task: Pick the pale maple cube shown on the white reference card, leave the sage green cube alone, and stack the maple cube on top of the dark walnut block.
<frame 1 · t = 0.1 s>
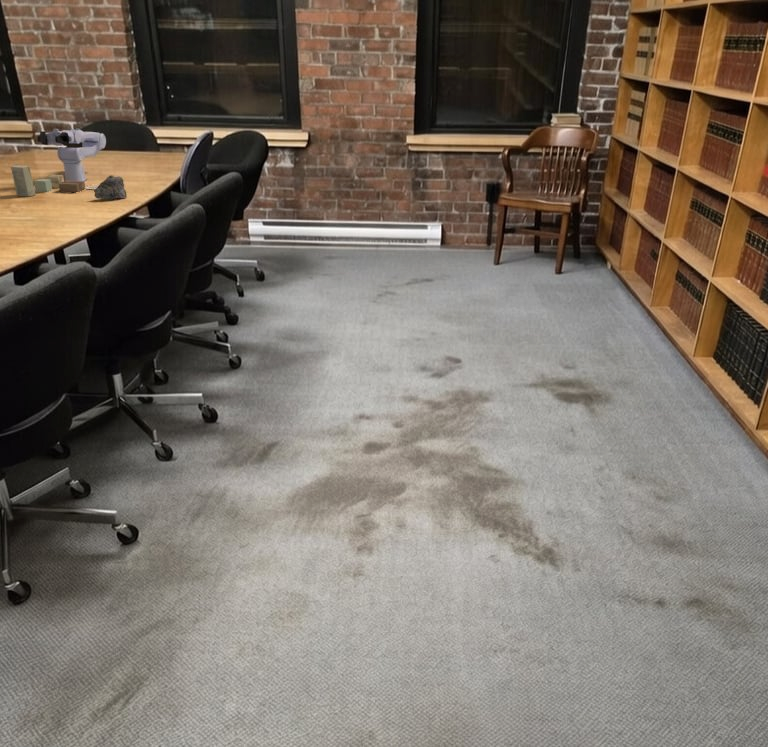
hand: (47, 139, 287), 22 cm above the table, tool horizontal, fingers open, 7 cm apart
reference card: (94, 187, 304), on the table
walnut block: (73, 191, 296), on the table
mineral rock: (111, 199, 286), on the table
maple cube: (56, 187, 301), on the table
sage cube: (44, 191, 292), on the table
skincare box: (26, 195, 283), on the table
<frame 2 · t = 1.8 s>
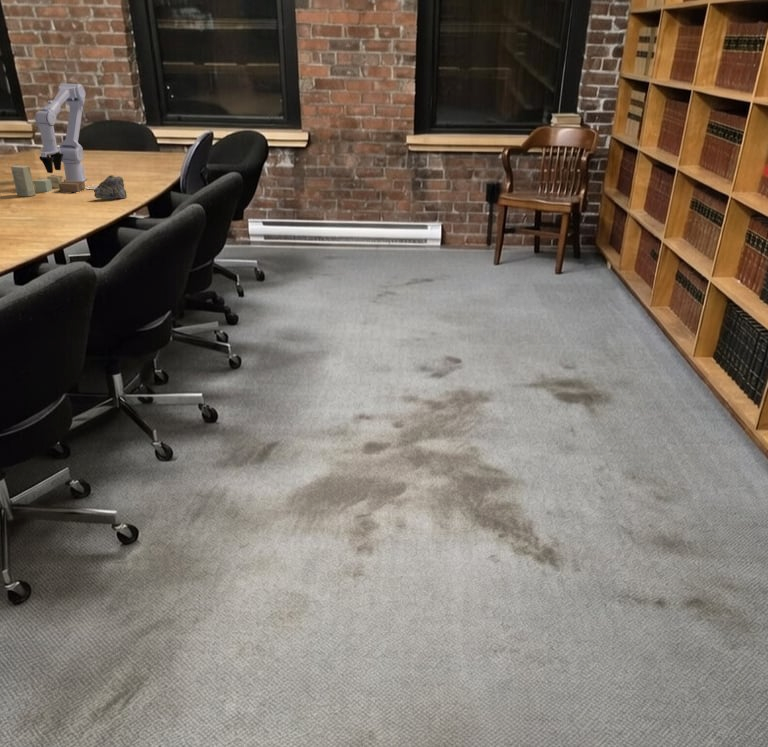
hand: (54, 171, 298), 7 cm above the table, tool pointing down, fingers open, 7 cm apart
nothing on the table moved.
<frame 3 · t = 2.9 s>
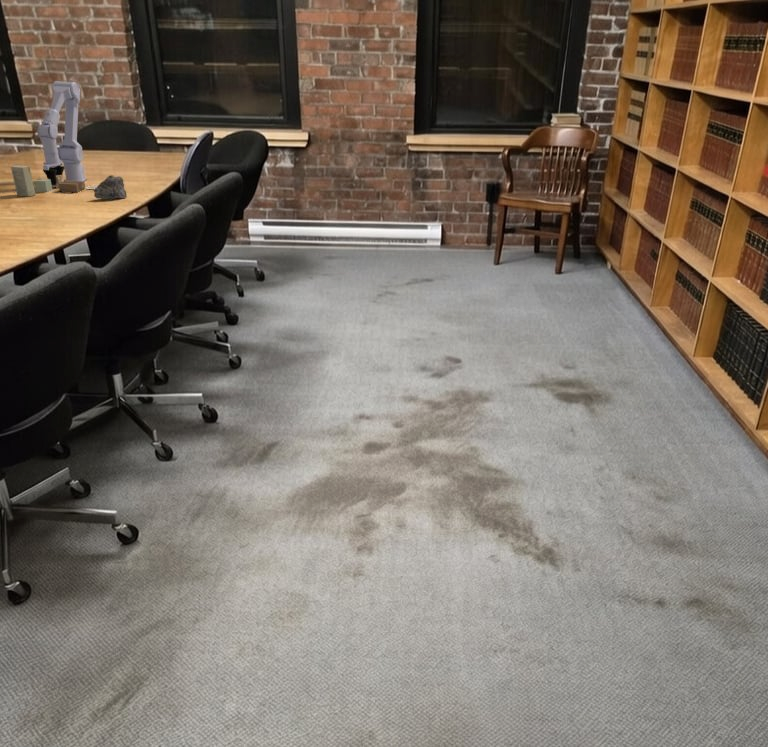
hand: (56, 183, 301), 1 cm above the table, tool pointing down, fingers closed on maple cube, 5 cm apart
maple cube: (56, 187, 301), on the table, touching gripper
everything else where it was.
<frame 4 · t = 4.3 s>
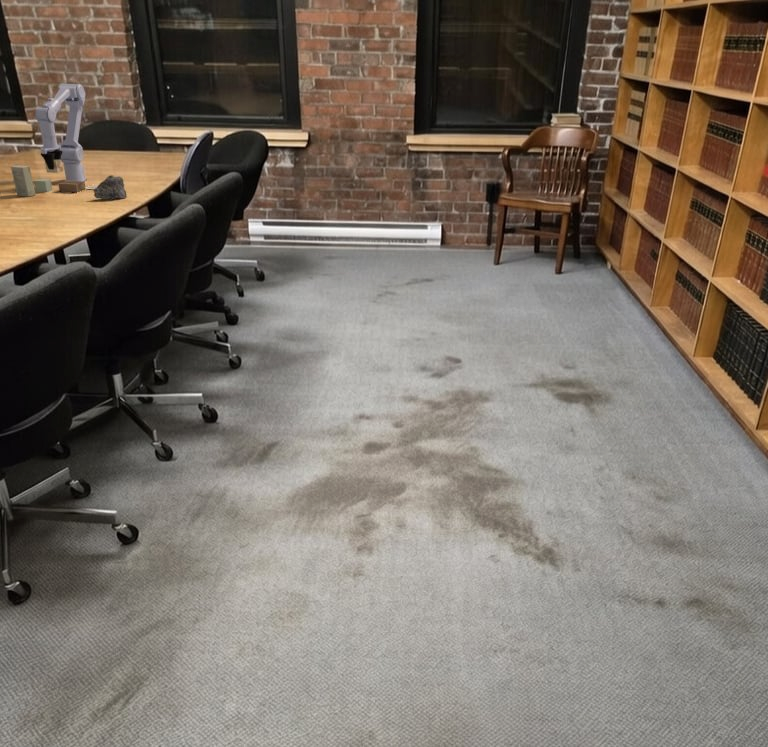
hand: (54, 168, 297), 8 cm above the table, tool pointing down, fingers closed on maple cube, 5 cm apart
maple cube: (54, 171, 298), point 7 cm above the table, touching gripper
everything else where it was.
when the fingers open (6 cm above the table, at t = 6.1 s): maple cube drops 1 cm, resting on walnut block.
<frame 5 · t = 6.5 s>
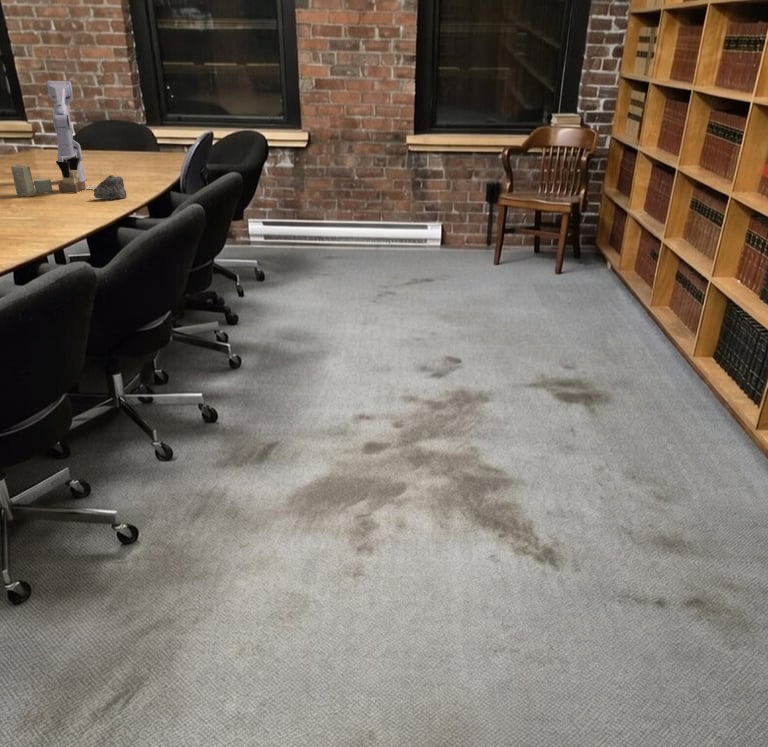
hand: (70, 176, 293), 6 cm above the table, tool pointing down, fingers open, 7 cm apart
walnut block: (73, 191, 296), on the table, touching maple cube
maple cube: (71, 182, 294), point 4 cm above the table, touching walnut block
everything else where it was.
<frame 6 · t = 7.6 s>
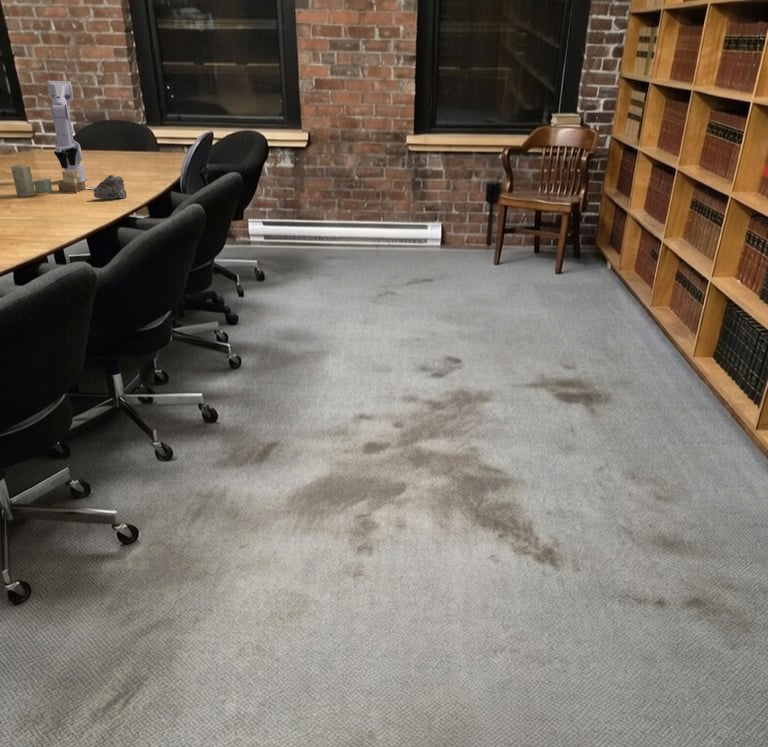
hand: (68, 166, 291), 10 cm above the table, tool pointing down, fingers open, 7 cm apart
walnut block: (72, 191, 296), on the table
maple cube: (71, 182, 294), point 4 cm above the table
everything else where it was.
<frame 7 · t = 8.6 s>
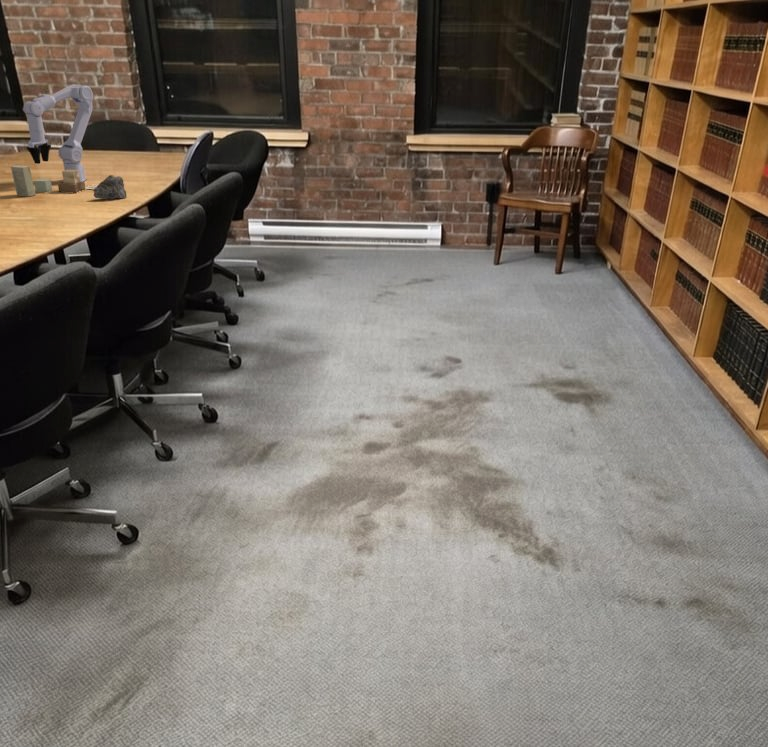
hand: (41, 162, 298), 10 cm above the table, tool pointing down, fingers open, 7 cm apart
walnut block: (72, 191, 296), on the table, touching maple cube
maple cube: (71, 182, 294), point 4 cm above the table, touching walnut block
everything else where it was.
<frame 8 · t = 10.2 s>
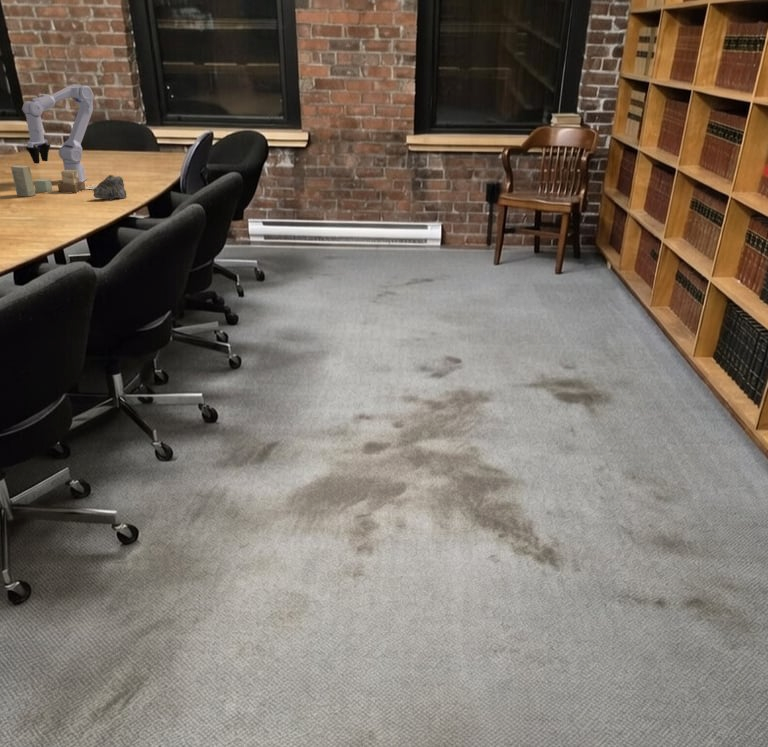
hand: (40, 162, 298), 10 cm above the table, tool pointing down, fingers open, 7 cm apart
walnut block: (72, 191, 296), on the table
maple cube: (71, 182, 294), point 4 cm above the table
everything else where it was.
at the end: maple cube 0.1 cm from the walnut block (horizontally); maple cube point 3.6 cm above the table; maple cube tilted 0° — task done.
